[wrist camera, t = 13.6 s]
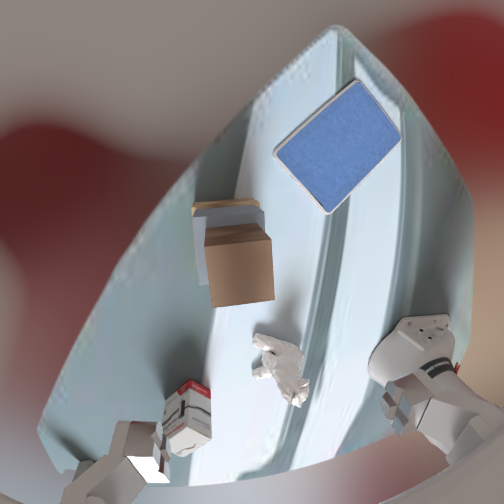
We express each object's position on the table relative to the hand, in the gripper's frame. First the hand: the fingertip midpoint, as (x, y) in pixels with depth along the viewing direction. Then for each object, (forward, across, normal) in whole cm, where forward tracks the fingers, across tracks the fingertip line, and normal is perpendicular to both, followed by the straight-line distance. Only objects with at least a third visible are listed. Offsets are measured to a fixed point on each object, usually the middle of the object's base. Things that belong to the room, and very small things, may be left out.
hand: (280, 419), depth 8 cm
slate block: (+27, 0, 0) cm, 27 cm away
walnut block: (+21, 0, 0) cm, 21 cm away
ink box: (+33, +11, +30) cm, 46 cm away
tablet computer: (+34, -18, -11) cm, 40 cm away
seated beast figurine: (+33, -6, +22) cm, 40 cm away
